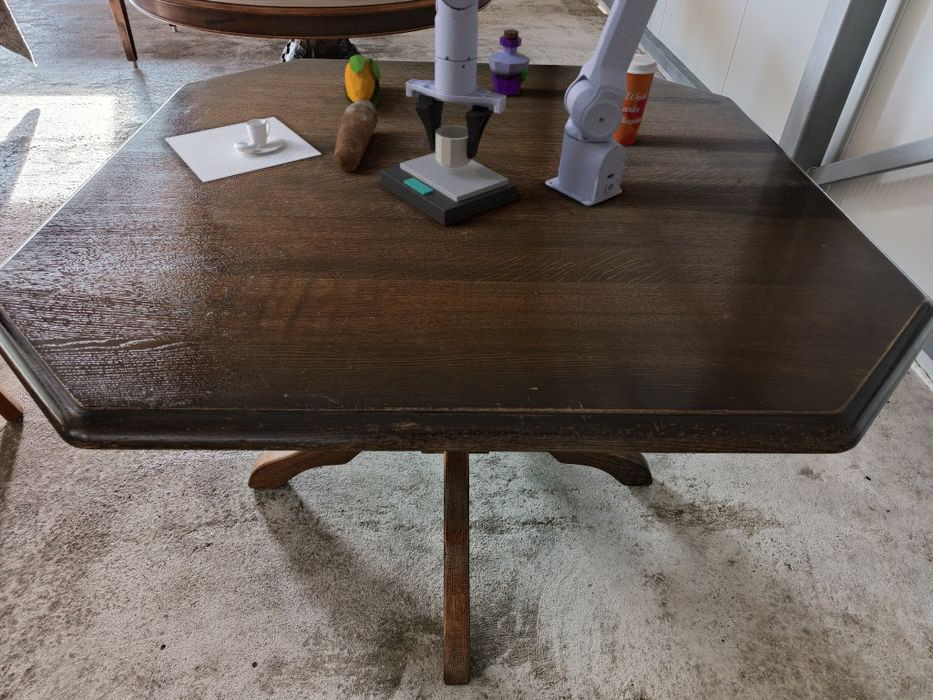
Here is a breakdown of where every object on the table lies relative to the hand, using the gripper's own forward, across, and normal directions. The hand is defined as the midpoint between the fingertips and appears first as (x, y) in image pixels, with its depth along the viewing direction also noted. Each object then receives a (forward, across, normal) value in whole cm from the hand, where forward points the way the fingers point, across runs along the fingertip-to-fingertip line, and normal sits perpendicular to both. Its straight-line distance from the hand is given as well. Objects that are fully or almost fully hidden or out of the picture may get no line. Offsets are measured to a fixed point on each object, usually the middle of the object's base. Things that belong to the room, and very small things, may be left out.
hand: (453, 152), depth 93 cm
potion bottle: (+6, +8, -47) cm, 48 cm away
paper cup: (+6, -19, -33) cm, 39 cm away
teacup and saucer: (+6, +39, +1) cm, 39 cm away
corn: (+6, +32, -28) cm, 43 cm away
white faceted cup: (+1, 0, 0) cm, 1 cm away
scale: (+6, 0, +1) cm, 6 cm away
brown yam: (+6, +20, -6) cm, 22 cm away
